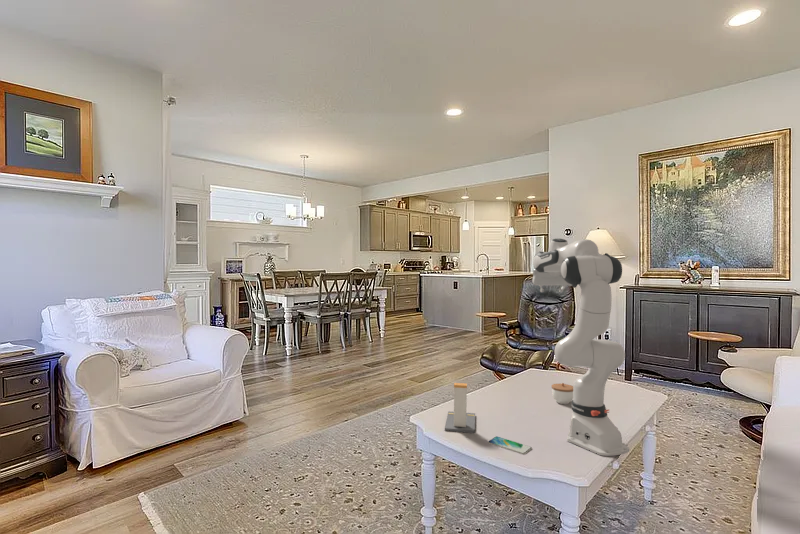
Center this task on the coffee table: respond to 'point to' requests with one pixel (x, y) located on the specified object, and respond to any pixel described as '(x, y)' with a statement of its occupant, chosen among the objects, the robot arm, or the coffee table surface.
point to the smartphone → (510, 445)
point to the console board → (450, 426)
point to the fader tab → (460, 404)
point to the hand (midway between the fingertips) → (551, 291)
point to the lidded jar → (562, 393)
